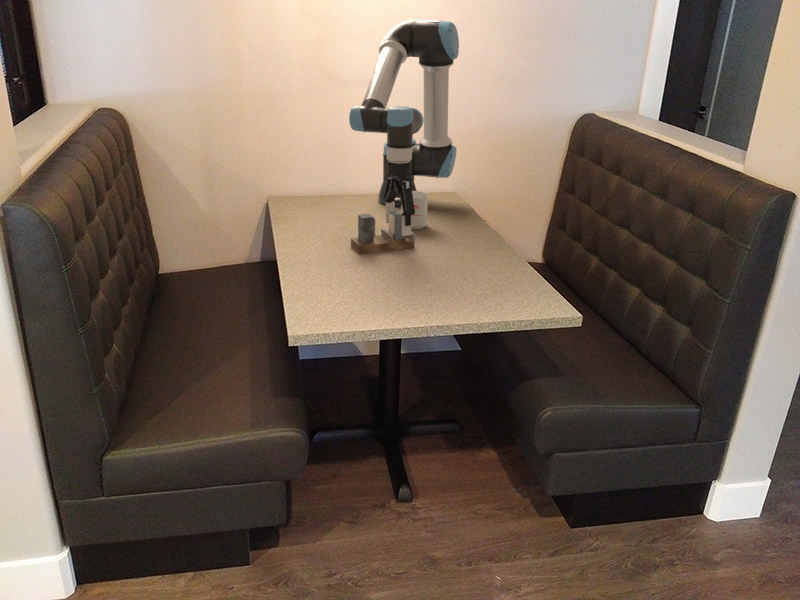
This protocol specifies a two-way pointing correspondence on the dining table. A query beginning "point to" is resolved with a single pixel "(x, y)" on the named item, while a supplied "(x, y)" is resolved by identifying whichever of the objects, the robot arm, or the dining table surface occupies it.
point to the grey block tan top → (396, 224)
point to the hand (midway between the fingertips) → (397, 229)
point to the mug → (419, 210)
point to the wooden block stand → (377, 238)
